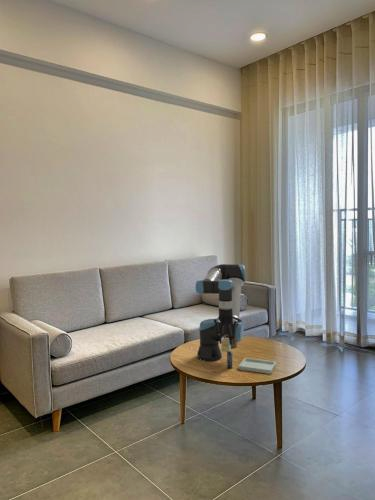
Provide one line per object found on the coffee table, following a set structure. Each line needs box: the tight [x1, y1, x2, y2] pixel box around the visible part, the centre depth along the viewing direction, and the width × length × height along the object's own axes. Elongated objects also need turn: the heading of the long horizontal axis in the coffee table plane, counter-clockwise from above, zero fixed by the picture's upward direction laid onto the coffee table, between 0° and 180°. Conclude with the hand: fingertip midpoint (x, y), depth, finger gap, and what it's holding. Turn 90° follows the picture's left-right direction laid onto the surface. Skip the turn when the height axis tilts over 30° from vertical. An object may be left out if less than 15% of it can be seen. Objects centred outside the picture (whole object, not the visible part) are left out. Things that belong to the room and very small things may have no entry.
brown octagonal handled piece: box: [221, 335, 238, 353], centre depth 215 cm, size 12×8×6 cm, turn 156°
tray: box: [237, 357, 277, 375], centre depth 218 cm, size 18×14×2 cm
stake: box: [226, 350, 234, 369], centre depth 218 cm, size 3×3×9 cm
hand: (226, 349), depth 211 cm, fingers closed on brown octagonal handled piece, 3 cm apart
